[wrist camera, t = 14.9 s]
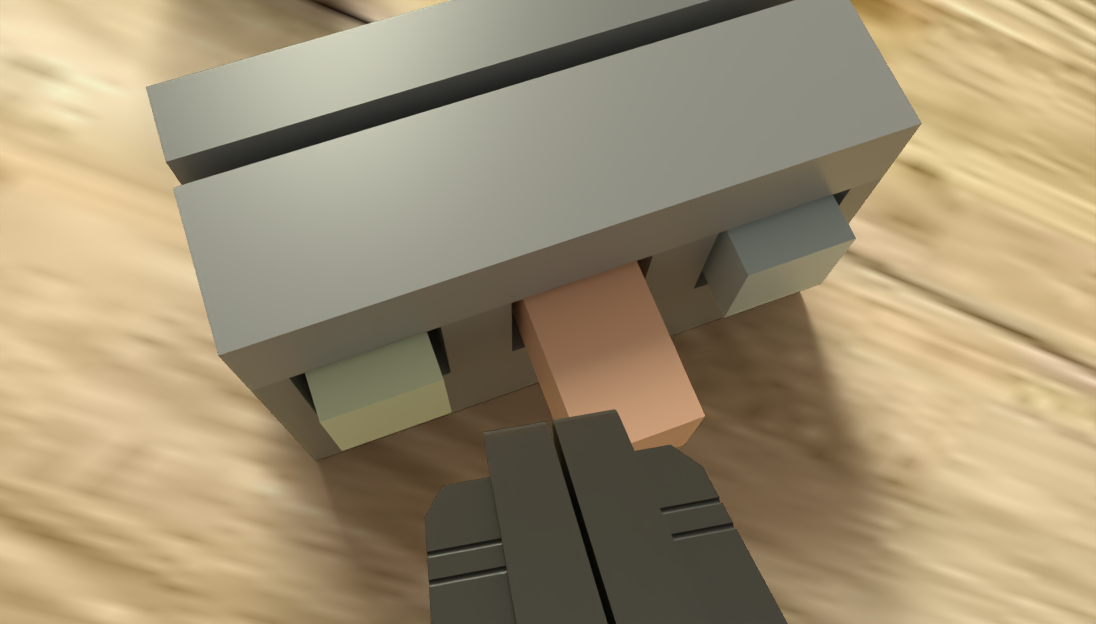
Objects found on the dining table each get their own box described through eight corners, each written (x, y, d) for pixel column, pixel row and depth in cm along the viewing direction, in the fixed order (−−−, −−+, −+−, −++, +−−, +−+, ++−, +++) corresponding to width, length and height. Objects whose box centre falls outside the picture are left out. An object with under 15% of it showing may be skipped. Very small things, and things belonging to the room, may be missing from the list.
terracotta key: (578, 484, 37) (586, 460, 32) (507, 299, 39) (505, 255, 35) (684, 444, 37) (705, 416, 33) (607, 265, 40) (618, 218, 36)
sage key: (341, 450, 37) (319, 422, 33) (286, 269, 39) (259, 221, 35) (451, 412, 37) (443, 379, 33) (390, 236, 40) (375, 185, 36)
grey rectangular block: (724, 317, 39) (748, 275, 35) (648, 154, 42) (662, 97, 38) (821, 283, 40) (856, 238, 36) (740, 125, 42) (764, 66, 38)
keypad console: (316, 460, 43) (218, 355, 29) (258, 266, 46) (145, 87, 32) (799, 290, 47) (921, 123, 32) (715, 121, 50) (792, -97, 36)
